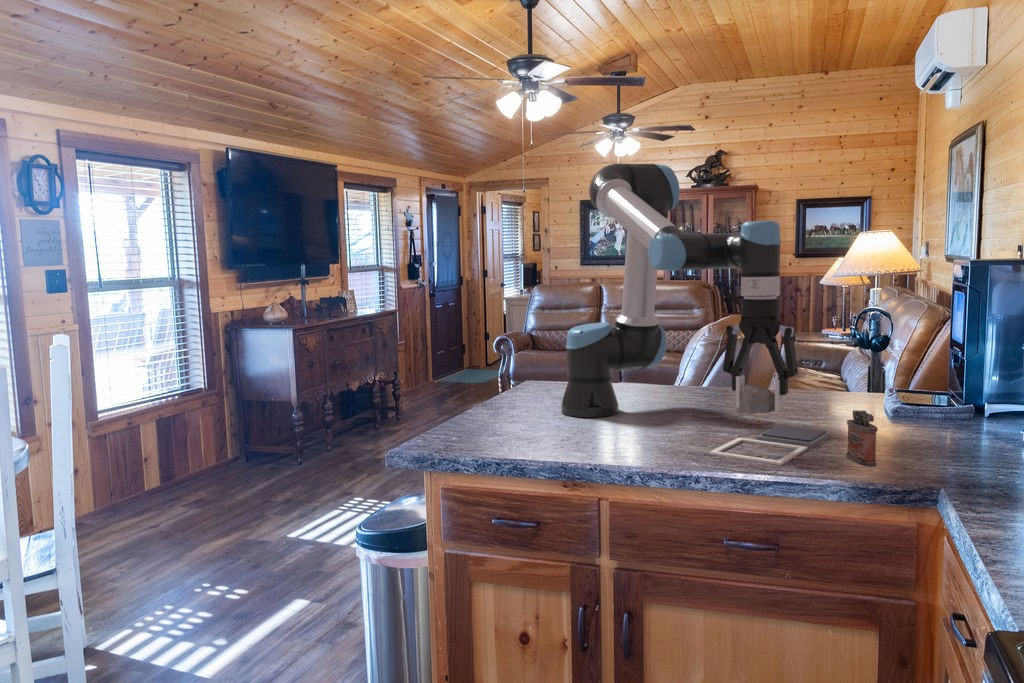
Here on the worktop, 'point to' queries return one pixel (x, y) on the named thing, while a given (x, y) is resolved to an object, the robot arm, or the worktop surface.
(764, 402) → the stone
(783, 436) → the ink pad
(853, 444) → the lighter
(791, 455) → the white flat square frame
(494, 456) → the worktop surface
